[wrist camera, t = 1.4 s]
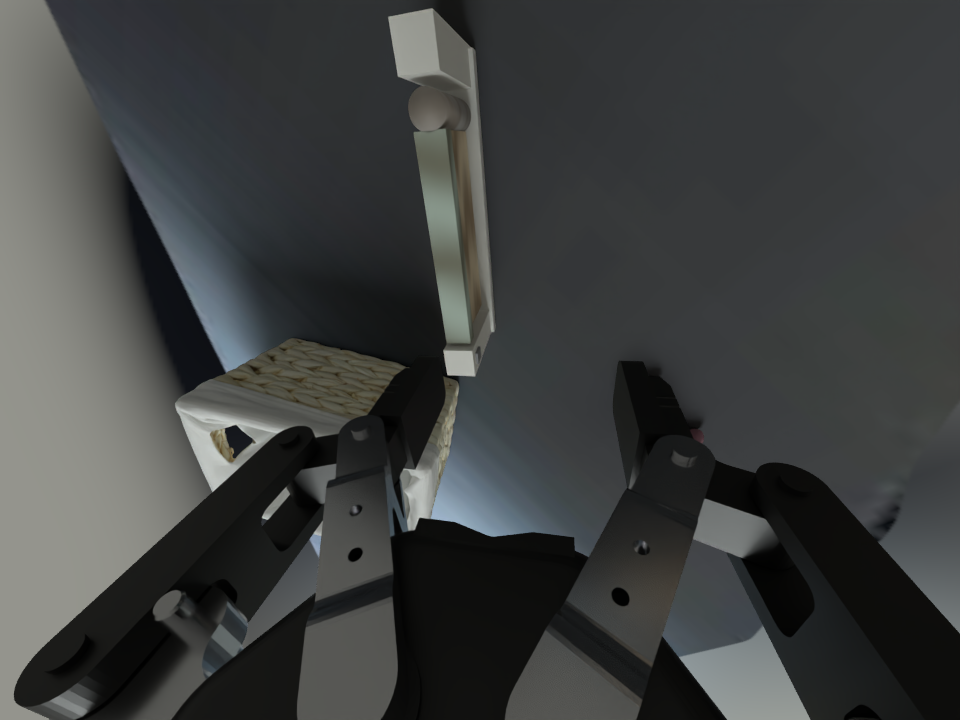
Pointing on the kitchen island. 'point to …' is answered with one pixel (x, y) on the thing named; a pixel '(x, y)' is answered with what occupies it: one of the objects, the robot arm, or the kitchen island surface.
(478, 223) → the gate posts
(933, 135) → the kitchen island surface
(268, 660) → the robot arm
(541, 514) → the kitchen island surface
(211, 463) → the storage basket
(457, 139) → the panel
